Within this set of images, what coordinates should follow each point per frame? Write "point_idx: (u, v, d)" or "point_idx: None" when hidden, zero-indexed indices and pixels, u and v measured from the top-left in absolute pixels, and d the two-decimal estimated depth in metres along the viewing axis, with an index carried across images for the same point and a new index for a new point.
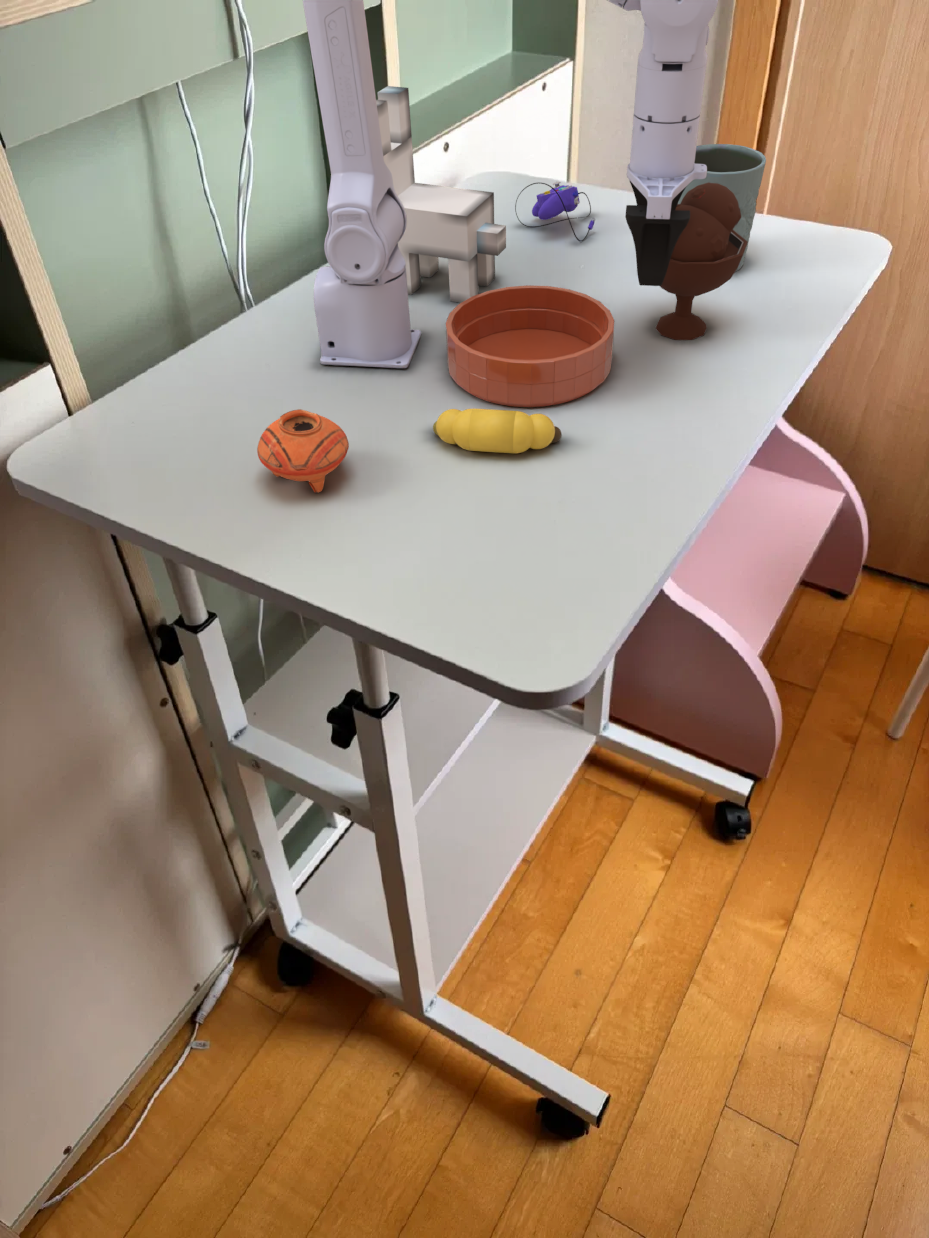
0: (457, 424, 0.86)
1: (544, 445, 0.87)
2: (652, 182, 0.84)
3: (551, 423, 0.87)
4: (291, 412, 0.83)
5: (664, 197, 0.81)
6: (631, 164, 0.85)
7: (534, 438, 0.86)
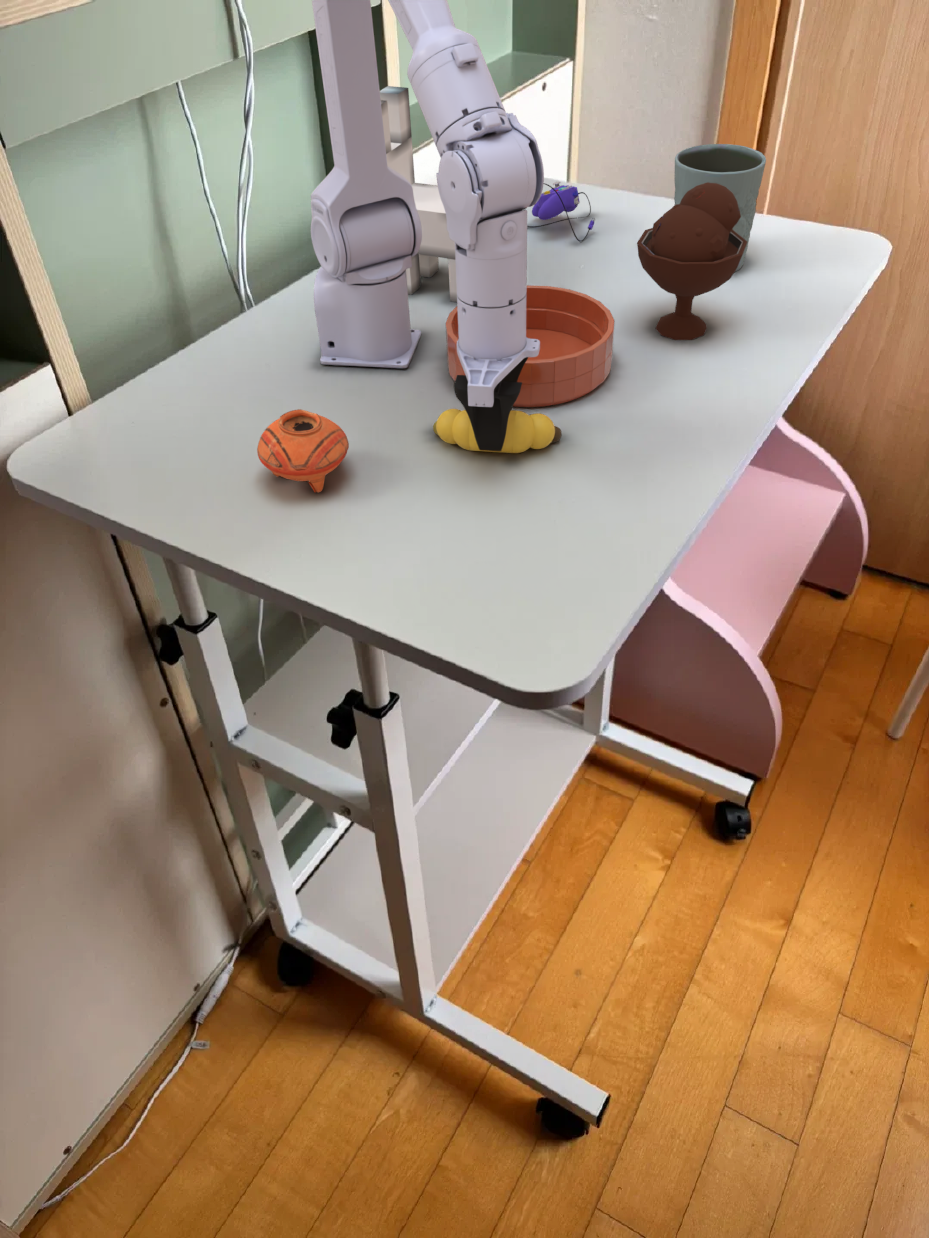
0: (457, 424, 0.86)
1: (544, 445, 0.87)
2: (478, 363, 0.79)
3: (551, 423, 0.87)
4: (291, 412, 0.83)
5: (484, 386, 0.76)
6: (459, 341, 0.81)
7: (534, 438, 0.86)
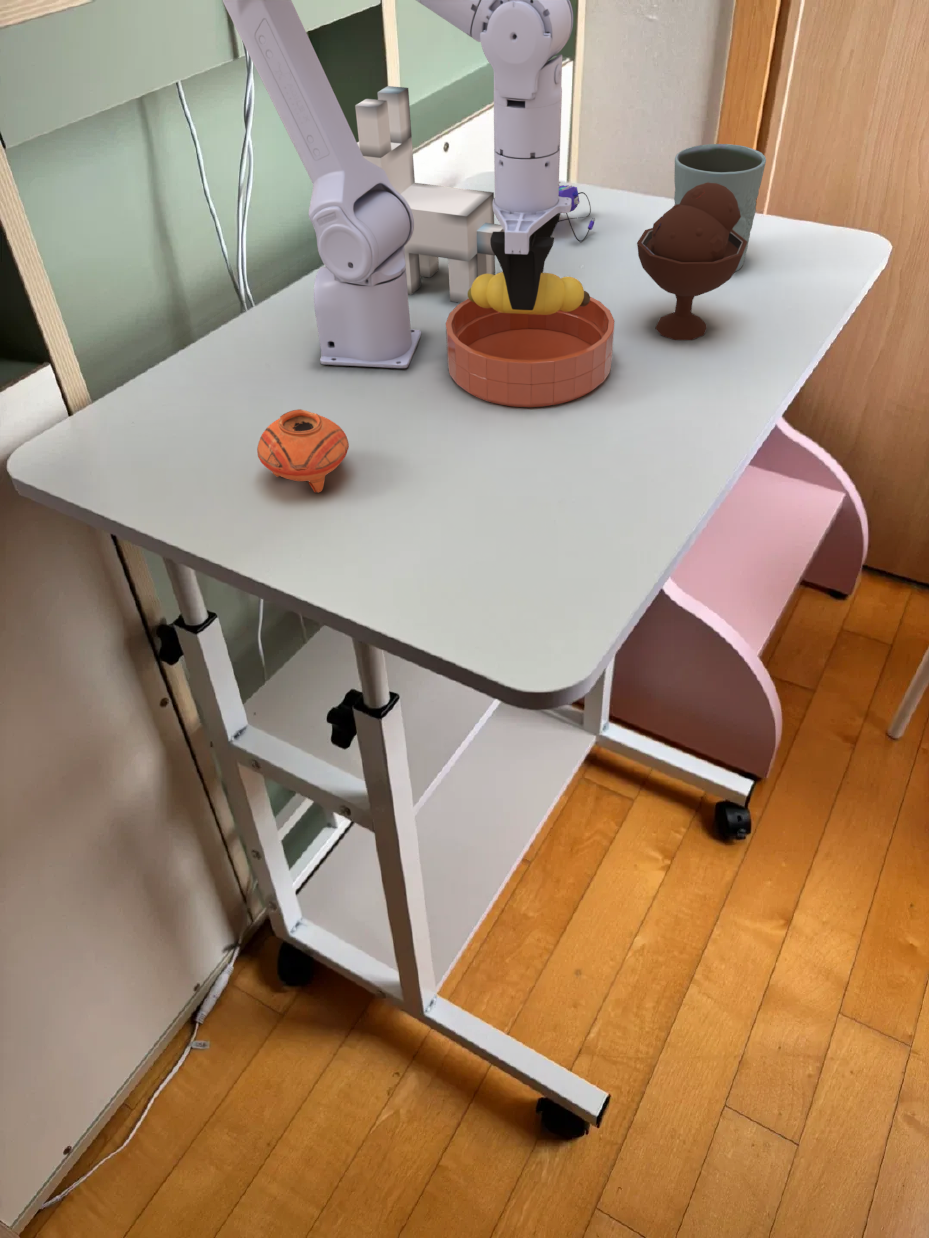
0: (491, 286, 0.91)
1: (574, 306, 0.92)
2: (514, 216, 0.84)
3: (581, 285, 0.91)
4: (291, 412, 0.83)
5: (520, 233, 0.81)
6: (495, 198, 0.85)
7: (565, 298, 0.91)
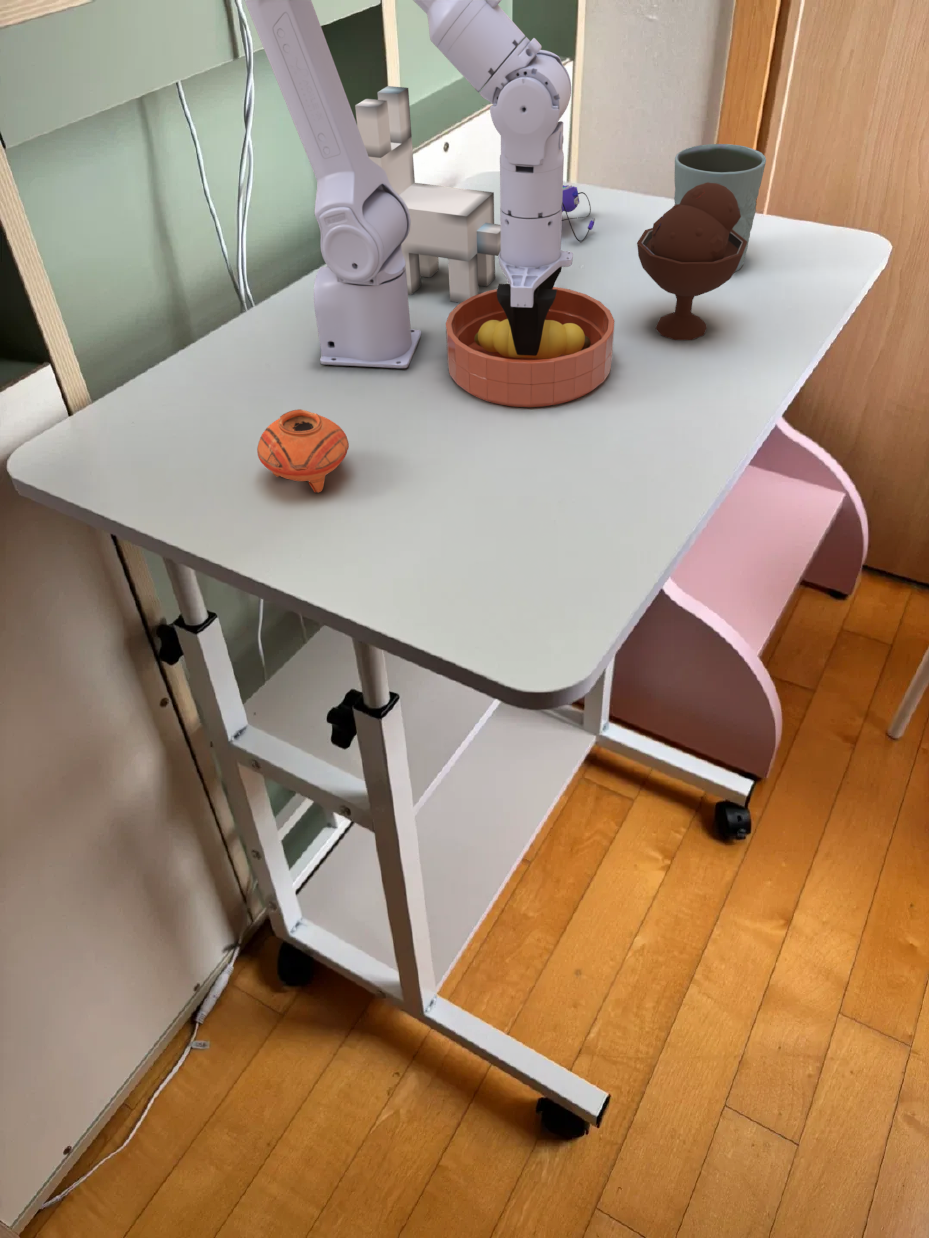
0: (497, 332, 0.96)
1: (575, 351, 0.97)
2: (519, 270, 0.89)
3: (582, 331, 0.97)
4: (291, 412, 0.83)
5: (525, 288, 0.86)
6: (501, 252, 0.91)
7: (567, 344, 0.96)
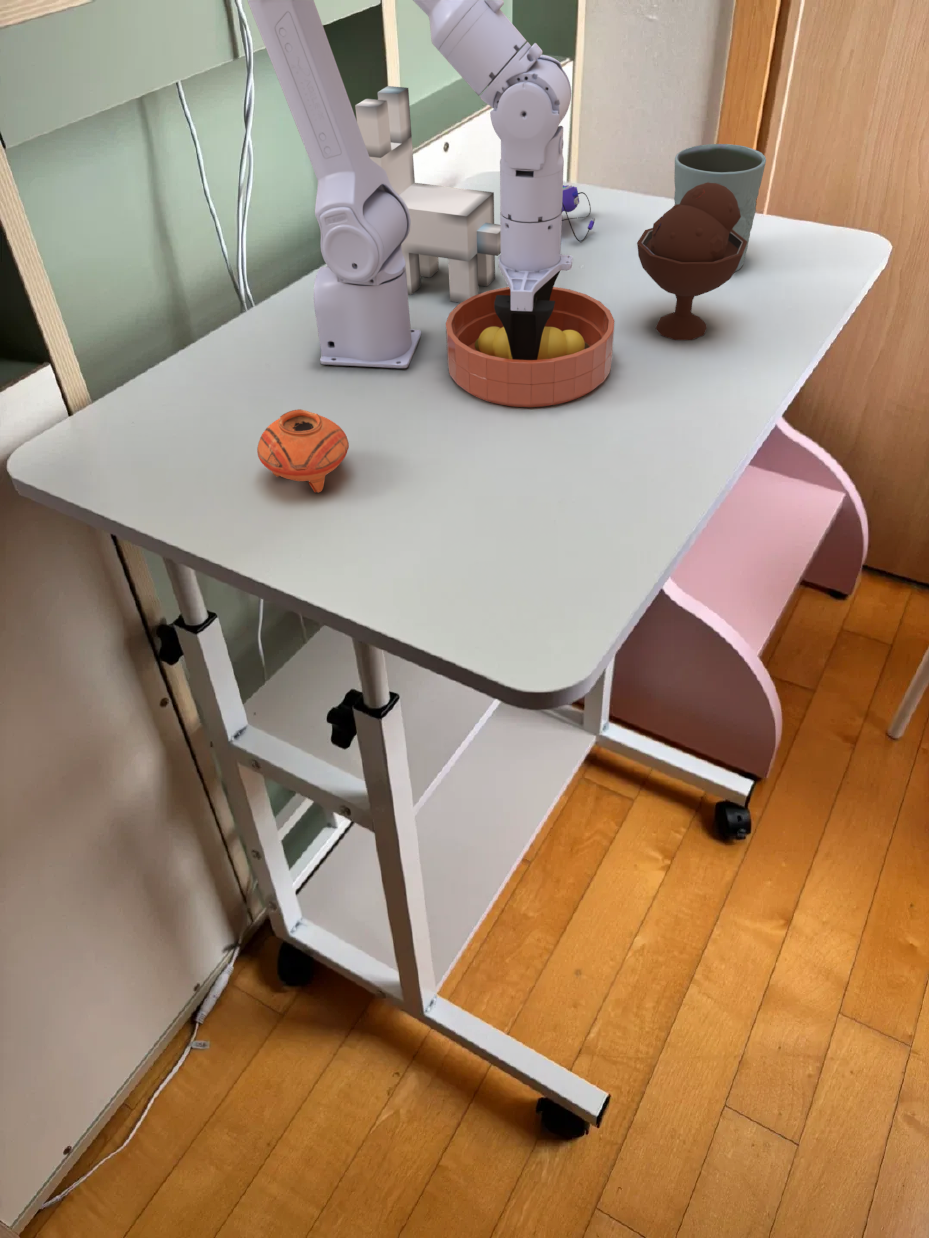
0: (497, 339, 0.97)
1: None
2: (519, 274, 0.90)
3: (581, 337, 0.97)
4: (291, 412, 0.83)
5: (525, 292, 0.86)
6: (501, 256, 0.91)
7: (566, 351, 0.97)
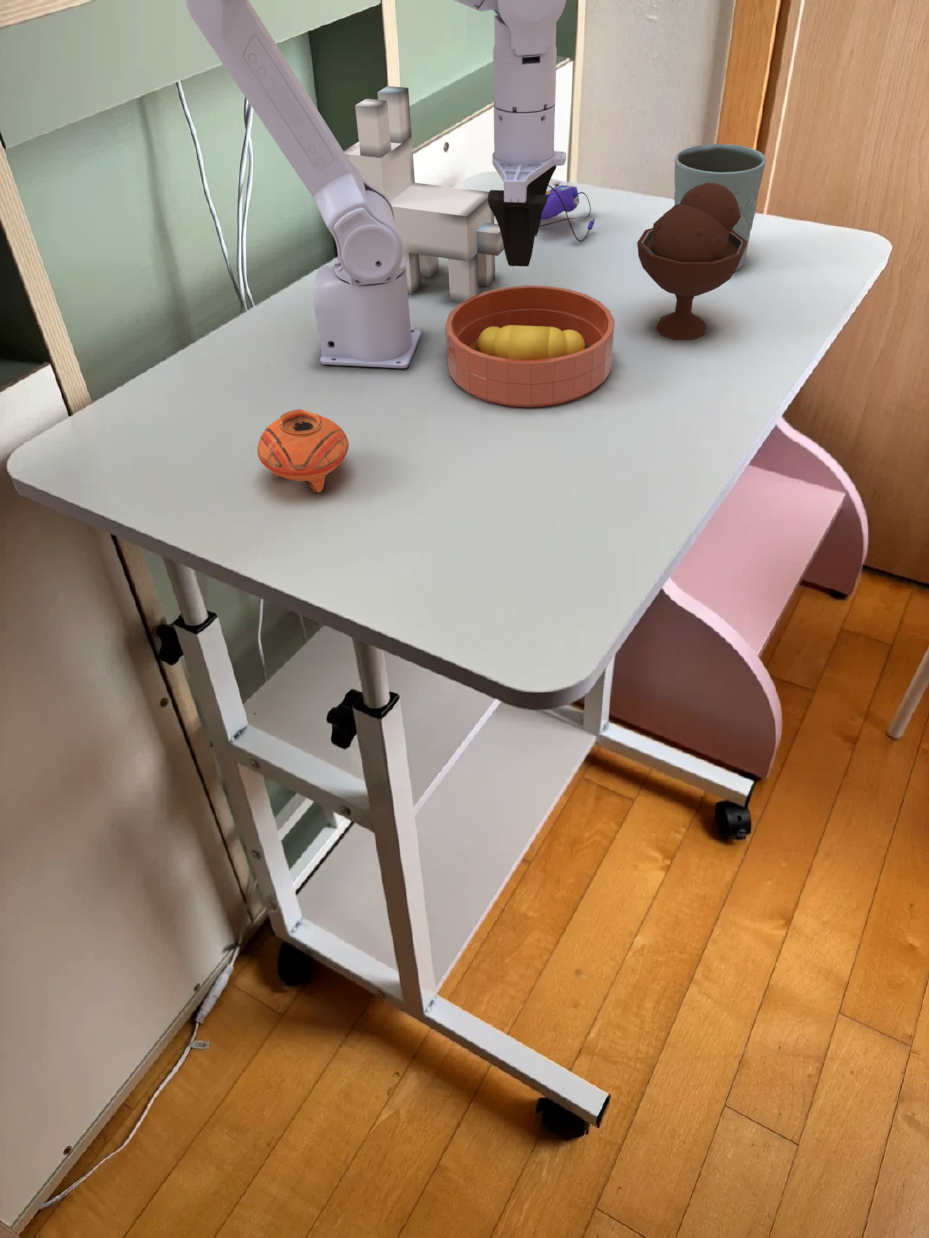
0: (497, 339, 0.97)
1: None
2: (512, 168, 0.90)
3: (581, 337, 0.97)
4: (291, 412, 0.83)
5: (518, 182, 0.87)
6: (495, 151, 0.91)
7: (566, 351, 0.97)
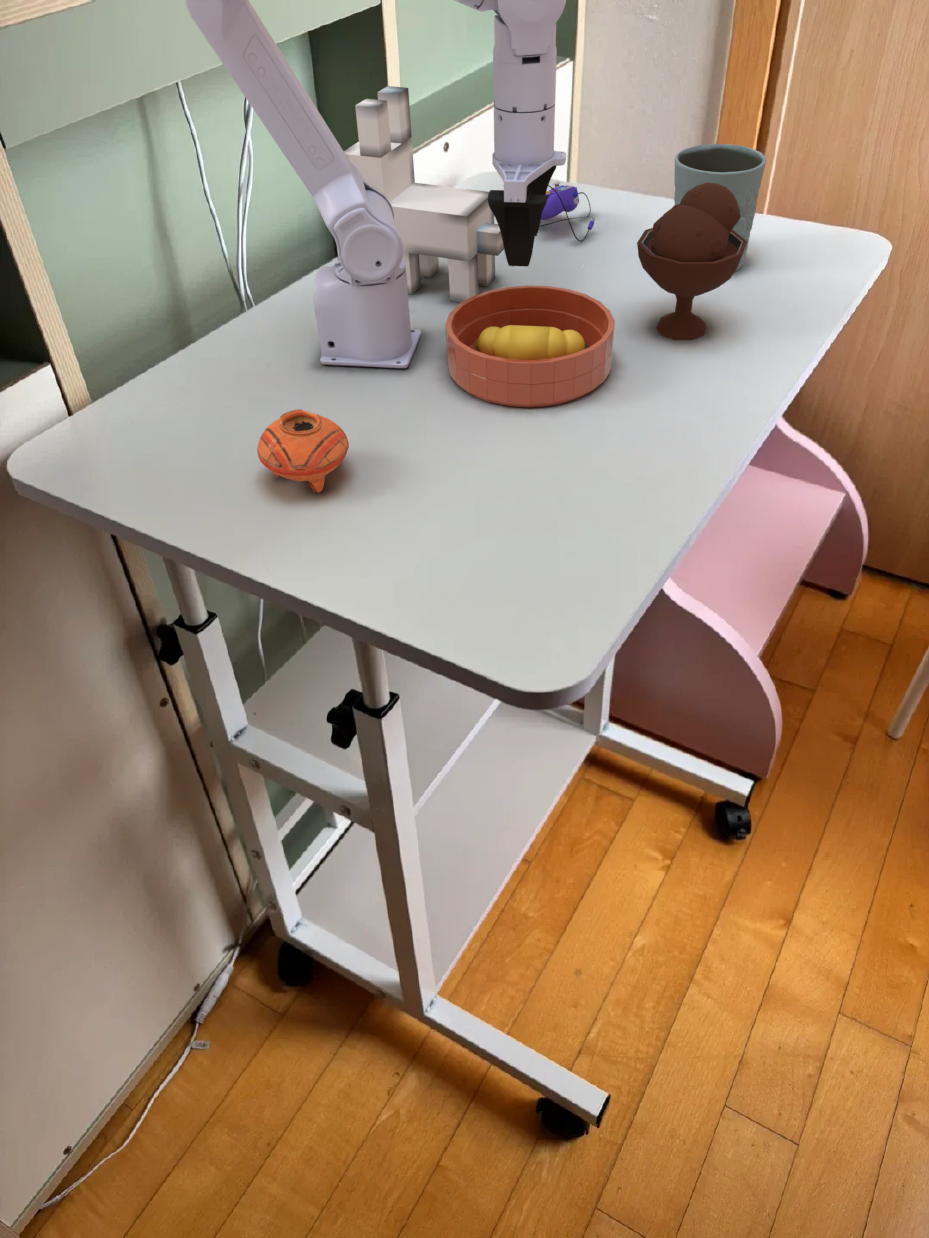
0: (497, 339, 0.97)
1: None
2: (512, 168, 0.90)
3: (581, 337, 0.97)
4: (291, 412, 0.83)
5: (518, 182, 0.87)
6: (495, 151, 0.91)
7: (566, 351, 0.97)
